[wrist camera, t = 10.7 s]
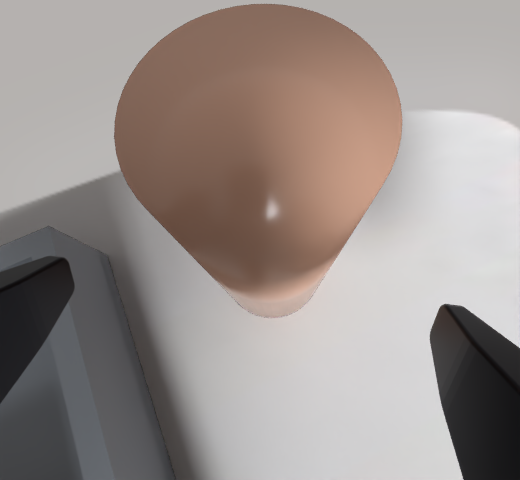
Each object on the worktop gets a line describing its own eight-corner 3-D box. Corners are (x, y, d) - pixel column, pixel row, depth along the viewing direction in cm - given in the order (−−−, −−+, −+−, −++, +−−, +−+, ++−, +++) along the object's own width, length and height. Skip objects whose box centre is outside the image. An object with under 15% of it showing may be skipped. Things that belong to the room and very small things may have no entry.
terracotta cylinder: (336, 292, 18) (462, 172, 6) (247, 334, 18) (170, 304, 5) (293, 210, 19) (318, -30, 7) (210, 247, 19) (81, 63, 7)
